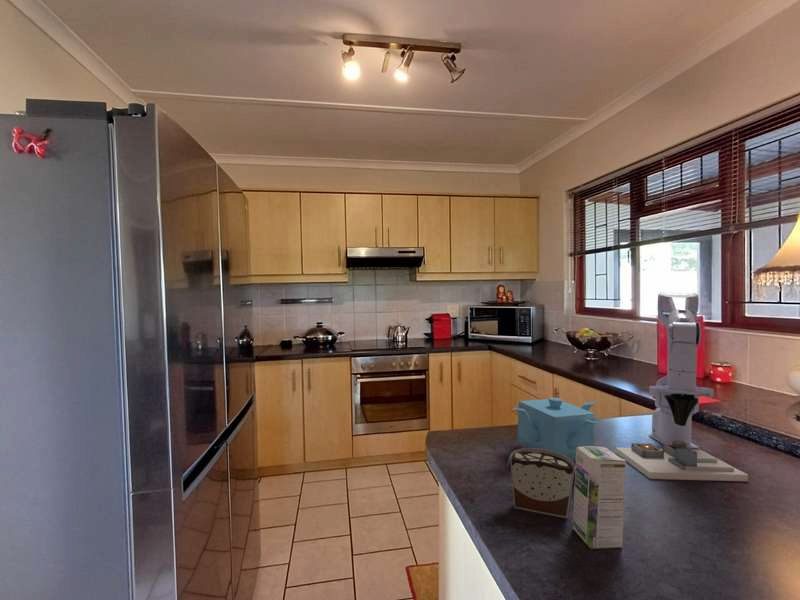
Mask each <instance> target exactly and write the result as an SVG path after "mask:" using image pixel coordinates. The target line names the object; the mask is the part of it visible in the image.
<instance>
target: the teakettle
mask: <svg viewBox="0 0 800 600" xmlns="http://www.w3.org/2000/svg"><path fill="white" fill-rule="evenodd" d="M595 404H596V402H594V401H593V402H592V401H589V402H585V403H583V404H582V405H580V407H579V406H577V405H573V404H572V403H568V402H566V401H564V400H563V399H561V398H558V397H549V398H543V399H531V400H519V401H518V407H515V408H512V410H513V411H514V412H516V413H517V440H516V442H518V443H519V444H521V445H522V446H524V447H525V448H539V449H546V450H550V451H554V452H557V453H560V454H562V455H564V456H566V457H568V458H569V459H571V460H572V461H573V463H574V464H576V448H577V447H584V446H595V441H596V439H595V438H596V425H597V424H599V421H596V413H594V412H592V411H589V410H590V409H591V407H593V406H594V405H595Z"/></svg>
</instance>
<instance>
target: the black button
mask: <svg viewBox="0 0 800 600" xmlns="http://www.w3.org/2000/svg"><path fill="white" fill-rule="evenodd" d="M672 448H673V449H675V450H676V448H677V449H687V443H685V442H682V441H677V440H673V441H672Z"/></svg>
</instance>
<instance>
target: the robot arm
mask: <svg viewBox="0 0 800 600" xmlns="http://www.w3.org/2000/svg"><path fill="white" fill-rule="evenodd" d="M699 299H700V298H699V295H698V293H696V292H694V293H693V292H692V293H690V292H686V293H684V292H682V293H680V292H677V293H676V292H662V291H661V292H659V293H658V294H657V319H658V323H660V324H662V325H664V327H665V330H666V340H667V348H666V349H667V356H666V360H667V365H666V366H667V369H666V371H667V372H666V373H667V374H666V375H665V376H663V377H661V378H659V379H657V381H656V383H655V385H650V386H649V387H648V388H649V389H648V390H649V392H648V394H649V395H652V396H653V397H654V405H655V407H656V408H655V409H654V410H653V413H652V417H651V420H652V421H651V433H649V434H648V436H649V438H650V437H651V438H652V439H654V440H656V441H657V442H660V443H661V444H662V445H663V444H672V441H673V440H677V441H682V442H685V443H687V447H688V448H689V449H694V450H699V449H700V448H699V447H700V446H697V445H696V444H694V443H692V442H691V441H692V439H691V438H692V417H693V416H694V414H696V413H698V412H699V407H700V397H708V398H714V397H715V395H714V394H715V389H714V388H710V387H700V386H697V367H698V366H697V361H698V347H699V346H700V342H701V340H702V339H701V337H702V328H701V324H700V322H699V321H696V320H697V316H698V311H699V304H700V303H699V301H700V300H699Z"/></svg>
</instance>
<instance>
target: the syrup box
mask: <svg viewBox="0 0 800 600" xmlns="http://www.w3.org/2000/svg"><path fill="white" fill-rule="evenodd" d="M626 471H627V461H626V460H624V459H623V458H621V457H620V456H619V455H617V454H616V453H614V452H613V451H611V450H609V448H607V447H603V446H596V445H594V446H584V447H577V448H576V463H575V473H574V488H573V490H574V491H573V512H572V513H573V514H572V529H573V531H575V533H576V534H577V535H578V536H579V537H580V539H582V541H583V542H584V544H586V545H587V547H589V549H595V550H596V549H614V548H615V549H616V548H623V542H624V541H623V540H624V539H623V538H624V537H623V536H624V535H623V534H624V521H625V520H624V519H625V516H624V515H625V498H626V495H625V494H626V493H625V492H626V475H627V474H626V473H627V472H626Z"/></svg>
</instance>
